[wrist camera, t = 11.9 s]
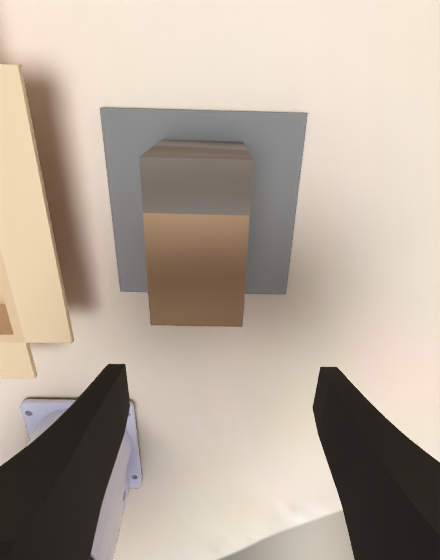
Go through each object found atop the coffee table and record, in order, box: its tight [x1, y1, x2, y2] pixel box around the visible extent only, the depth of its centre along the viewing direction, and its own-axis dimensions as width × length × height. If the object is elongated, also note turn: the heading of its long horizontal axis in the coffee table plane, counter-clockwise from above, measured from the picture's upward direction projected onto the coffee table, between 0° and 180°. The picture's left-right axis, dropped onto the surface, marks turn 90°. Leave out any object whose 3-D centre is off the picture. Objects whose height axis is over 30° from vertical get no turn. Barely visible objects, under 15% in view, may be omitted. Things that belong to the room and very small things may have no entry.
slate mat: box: [100, 108, 308, 294], centre depth 20 cm, size 10×10×1 cm
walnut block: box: [139, 139, 254, 327], centre depth 17 cm, size 7×4×6 cm, turn 178°
